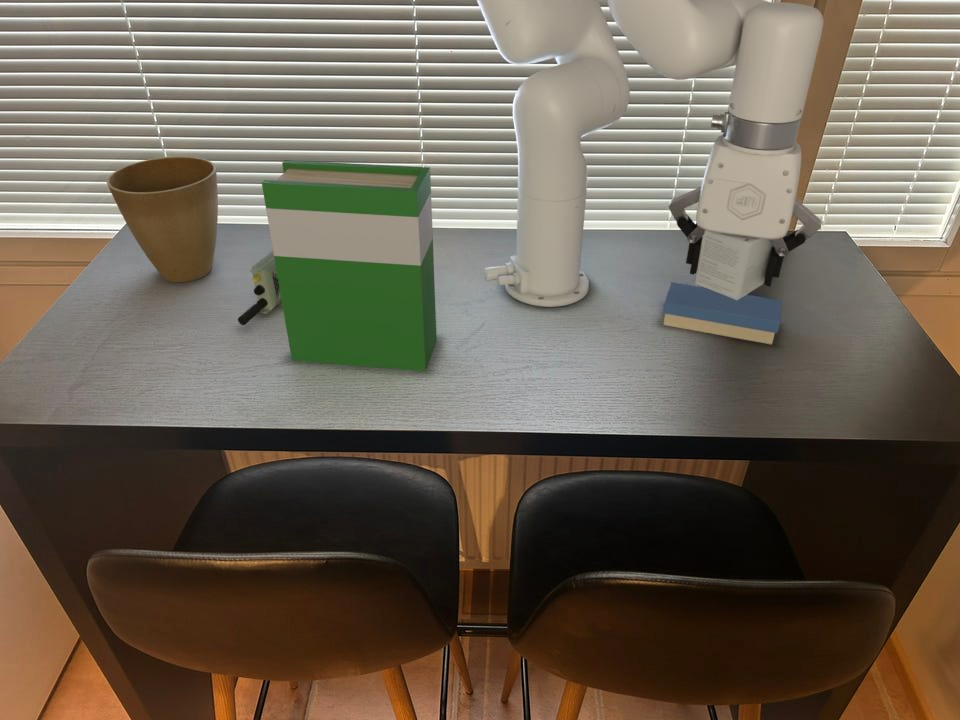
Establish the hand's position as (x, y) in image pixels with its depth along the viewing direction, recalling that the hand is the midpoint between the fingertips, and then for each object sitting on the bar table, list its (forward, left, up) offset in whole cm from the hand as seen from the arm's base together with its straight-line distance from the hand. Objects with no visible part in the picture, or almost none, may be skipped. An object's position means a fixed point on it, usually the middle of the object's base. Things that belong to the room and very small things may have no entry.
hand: (730, 274), depth 91 cm
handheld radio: (-51, +35, -13) cm, 63 cm away
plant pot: (-66, +45, -13) cm, 81 cm away
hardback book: (-43, +15, -13) cm, 47 cm away
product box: (0, 0, -2) cm, 2 cm away
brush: (+5, +7, -12) cm, 15 cm away
